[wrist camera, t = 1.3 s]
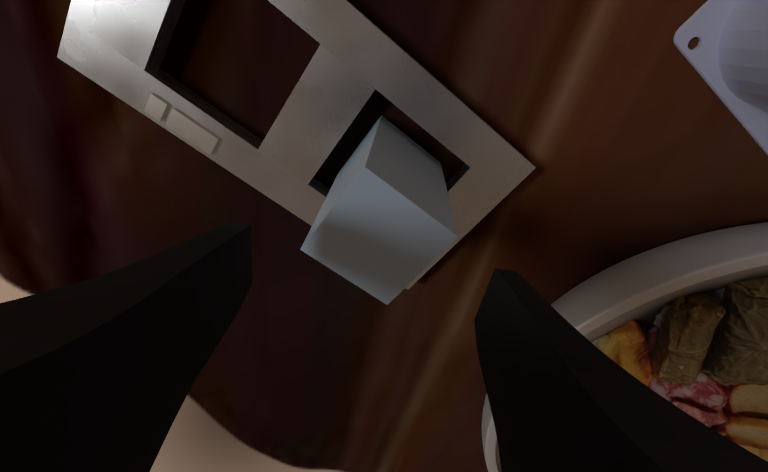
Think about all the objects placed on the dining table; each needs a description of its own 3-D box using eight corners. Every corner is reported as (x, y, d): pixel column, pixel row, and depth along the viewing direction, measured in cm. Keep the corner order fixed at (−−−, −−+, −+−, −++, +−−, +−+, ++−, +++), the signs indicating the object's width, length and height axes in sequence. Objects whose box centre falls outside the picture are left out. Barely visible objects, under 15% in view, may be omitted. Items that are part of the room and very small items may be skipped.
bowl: (682, 96, 17) (858, 141, 11) (1067, 313, 22) (1363, 441, 15) (408, 426, 32) (408, 535, 25) (677, 515, 36) (739, 628, 29)
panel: (528, 160, 19) (537, 169, 18) (408, 277, 23) (408, 291, 22) (143, -181, 14) (117, -202, 12) (77, 55, 18) (53, 57, 17)
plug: (440, 162, 19) (458, 236, 12) (394, 214, 21) (387, 305, 14) (381, 115, 18) (365, 167, 11) (337, 173, 20) (300, 249, 13)
